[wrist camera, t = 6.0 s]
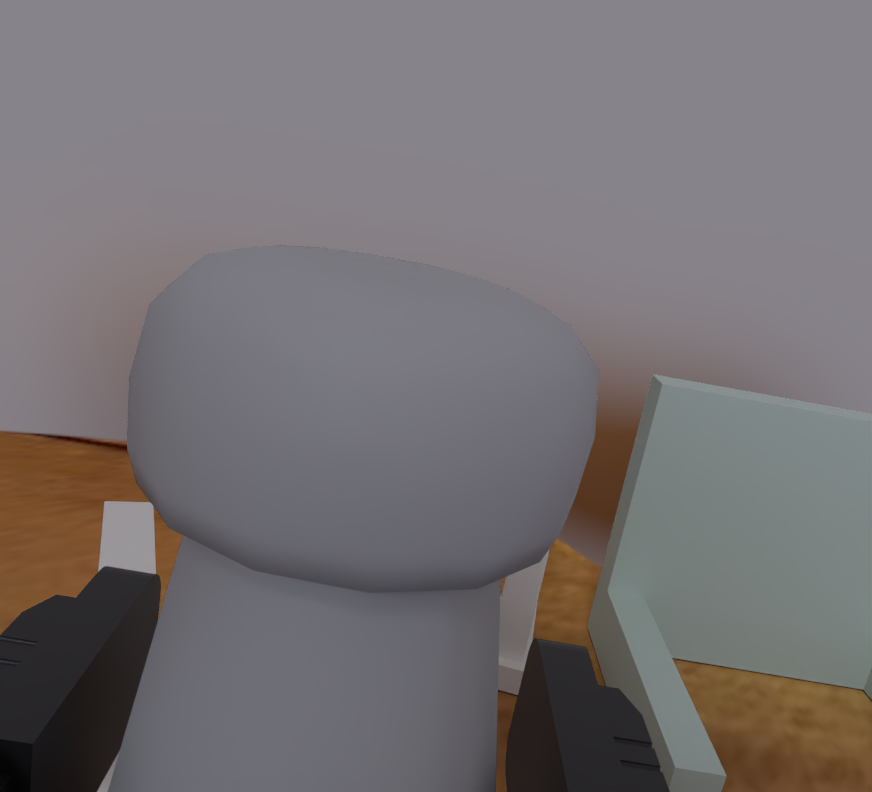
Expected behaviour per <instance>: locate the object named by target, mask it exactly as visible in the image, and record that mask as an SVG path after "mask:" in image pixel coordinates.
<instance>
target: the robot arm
mask: <svg viewBox="0 0 872 792" xmlns="http://www.w3.org/2000/svg"><path fill="white" fill-rule="evenodd" d="M160 592H161V581H160V577H159V575H157V574H152V573H146V572H140V571H134V570H128V569H122V568H116V567H110V566H104V567H103V568H102V569H101V570H100V571H99V572H98V573H97V574H96V575H95V576H94V578H93V579H92V580H91V581H90V582H89V583H88V584H87V586H86V587H85V588H84V589H83V590H82V591H81V593H80V594H79V595H78V596H77V597H76V598H73V597H67V596H61V595H55V596H53V597H51V598H49V599H47V600H45V601H43V602H41V603H39V604H37V605H35V606H33V607H31V608H30V609H28V610H26V611H24V612H22V613H21V614H20V615H19V616H18V617H17V618H16V619H15V620H14V621H13V622H12V624H11V625H10V626H9V627H8V628H7V629H6V630H5V631H4V632H3V633H2V634H1V635H0V792H97V791H98V789H99V787H100V785H101V783H102V782H103V780H104V778H105V776H106V774H107V773H108V771H109V769H110V767H111V765H112V764H113V762H114V760H115V758H116V757H117V755H118V753H119V751H120V748H121V745H122V741H123V738H124V734H125V731H126V728H127V724H128V721H129V718H130V714H131V711H132V707H133V704H134V701H135V697H136V694H137V690H138V687H139V684H140V680H141V677H142V673H143V670H144V667H145V663H146V660H147V656H148V653H149V650H150V646H151V643H152V639H153V636H154V633H155V629H156V626H157V622H158V612H159V602H160ZM660 767H661V766H660V763H659V760H658V758H657V755H656V752H655V749H654V748H652V741H651V738H650V736H649V733H648V730H647V727H646V724H645V722H644V719H643V716H642V714H641V713H640V712H639V711H638V710H637V708H636V707H635V706H634V705H633V704H632V703H631V702H630V700H629V699H628V698H627V697H626V696H625V695H624V694H623V693H622V691H621V690H620V689H619V688H613V687H607V686H601V685H598V684H597V680H596V677H595V673H594V670H593V667H592V663H591V660H590V657H589V653H588V650H587V649H586V647H584V646H578V645H572V644H566V643H560V642H554V641H548V640H542V639H534V640H533V641H532V643H531V646H530V648H529V652H528V656H527V660H526V664H525V668H524V672H523V676H522V680H521V685H520V689H519V693H518V697H517V701H516V705H515V709H514V713H513V718H512V722H511V726H510V730H509V736H508V742H507V751H506V783H507V792H670V791H669V788H668V785H667V783H666V780H665V777H664V774H663V772H660Z"/></svg>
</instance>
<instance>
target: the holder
mask: <svg viewBox="0 0 872 792" xmlns="http://www.w3.org/2000/svg"><path fill="white" fill-rule="evenodd" d="M587 627H588V630H589V633H590V636H591V639H592V643H593V646H594V649H595V652H596V655H597V659H598V662H599V665H600V668H601V672H602V675H603V678H604V681H605V684H606V686H607V687H613V688H619V689H620V690H621V691H622V693H623V694H624V695H625V696H626V697H627V698H628V699H629V700H630V702H631V703H632V704H633V705H634V706H635V707H636V708H637V710H638V711H639V712H640V713H641V714H642V716H643V719H644V722H645V724H646V727H647V730H648V733H649V736H650V738H651V741H652V748H654V749H655V752H656V755H657V758H658V760H659V763H660V766H661V767H660V772H663V774H664V777H665V780H666V783H667V785H668V788H669V791H670V792H721V791H722V788H723V785H724V782H725V779H726V773H725V771H724V769H723V767H722V765H721V763H720V760H719V758H718V756H717V754H716V752H715V750H714V748H713V745H712V743H711V741H710V739H709V737H708V735H707V732H706V730H705V728H704V726H703V724H702V722H701V719H700V717H699V715H698V713H697V711H696V709H695V707H694V704H693V702H692V700H691V698H690V696H689V694H688V691H687V689H686V687H685V685H684V683H683V681H682V678H681V676H680V674H679V672H678V670H677V668H676V665H675V663H674V661H673V659H672V658H676V659H682V660H688V661H694V662H700V663H706V664H712V665H718V666H724V667H730V668H736V669H742V670H748V671H754V672H760V673H766V674H772V675H778V676H784V677H790V678H796V679H802V680H808V681H814V682H820V683H826V684H832V685H838V686H844V687H850V688H856V689H862V690H864V691H865V692H866V694H867V695H868V696H869V697H870V699H871V700H872V414H870V413H865V412H859V411H854V410H848V409H843V408H837V407H831V406H826V405H821V404H815V403H809V402H804V401H798V400H792V399H787V398H782V397H776V396H771V395H765V394H759V393H754V392H748V391H743V390H737V389H732V388H726V387H720V386H715V385H710V384H704V383H699V382H693V381H688V380H682V379H676V378H671V377H665V376H660V375H654V374H653V375H652V378H651V382H650V386H649V390H648V394H647V397H646V401H645V406H644V409H643V413H642V417H641V421H640V424H639V428H638V432H637V436H636V440H635V443H634V447H633V451H632V455H631V459H630V463H629V467H628V470H627V474H626V478H625V482H624V485H623V490H622V493H621V497H620V501H619V505H618V508H617V512H616V516H615V520H614V524H613V527H612V532H611V536H610V539H609V543H608V547H607V550H606V554H605V558H604V562H603V566H602V570H601V573H600V577H599V581H598V585H597V589H596V592H595V596H594V600H593V604H592V608H591V612H590V615H589V619H588V623H587Z"/></svg>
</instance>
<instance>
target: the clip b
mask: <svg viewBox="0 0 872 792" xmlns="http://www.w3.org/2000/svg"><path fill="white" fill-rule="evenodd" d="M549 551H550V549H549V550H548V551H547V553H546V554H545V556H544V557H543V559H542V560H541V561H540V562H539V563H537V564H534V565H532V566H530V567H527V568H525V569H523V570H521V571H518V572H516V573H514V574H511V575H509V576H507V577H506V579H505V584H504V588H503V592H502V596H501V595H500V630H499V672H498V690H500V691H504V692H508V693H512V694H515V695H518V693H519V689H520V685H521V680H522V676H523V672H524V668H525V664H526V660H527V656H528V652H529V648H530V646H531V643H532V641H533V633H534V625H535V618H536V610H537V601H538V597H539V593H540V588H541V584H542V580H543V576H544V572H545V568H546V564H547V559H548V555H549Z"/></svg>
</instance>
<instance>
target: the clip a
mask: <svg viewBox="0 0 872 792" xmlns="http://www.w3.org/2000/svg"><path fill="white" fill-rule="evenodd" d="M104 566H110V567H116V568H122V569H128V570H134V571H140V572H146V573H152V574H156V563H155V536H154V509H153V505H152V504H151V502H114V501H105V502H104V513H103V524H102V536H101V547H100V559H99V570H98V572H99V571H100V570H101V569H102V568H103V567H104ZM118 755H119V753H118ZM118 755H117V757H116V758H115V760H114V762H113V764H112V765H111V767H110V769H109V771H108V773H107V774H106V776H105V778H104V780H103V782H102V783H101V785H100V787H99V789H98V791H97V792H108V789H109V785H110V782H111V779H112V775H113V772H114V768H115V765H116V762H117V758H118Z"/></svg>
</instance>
